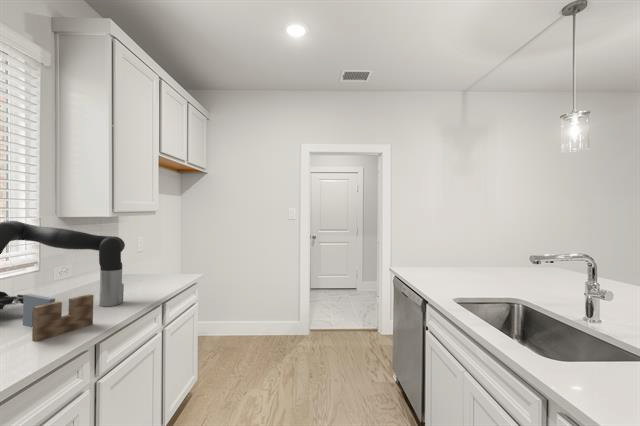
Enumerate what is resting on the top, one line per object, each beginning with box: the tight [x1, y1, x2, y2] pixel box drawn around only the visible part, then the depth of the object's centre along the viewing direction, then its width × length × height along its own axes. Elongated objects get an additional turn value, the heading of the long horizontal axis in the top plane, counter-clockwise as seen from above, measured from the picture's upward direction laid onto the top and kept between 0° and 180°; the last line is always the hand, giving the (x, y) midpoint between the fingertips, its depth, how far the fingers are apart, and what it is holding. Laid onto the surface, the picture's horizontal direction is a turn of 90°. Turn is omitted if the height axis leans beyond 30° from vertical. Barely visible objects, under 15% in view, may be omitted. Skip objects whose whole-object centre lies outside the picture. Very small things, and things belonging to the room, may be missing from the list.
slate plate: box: [22, 293, 56, 328], centre depth 131 cm, size 2×16×12 cm, turn 69°
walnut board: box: [31, 293, 95, 342], centre depth 127 cm, size 20×2×12 cm, turn 159°
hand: (15, 304), depth 137 cm, fingers open, 8 cm apart
